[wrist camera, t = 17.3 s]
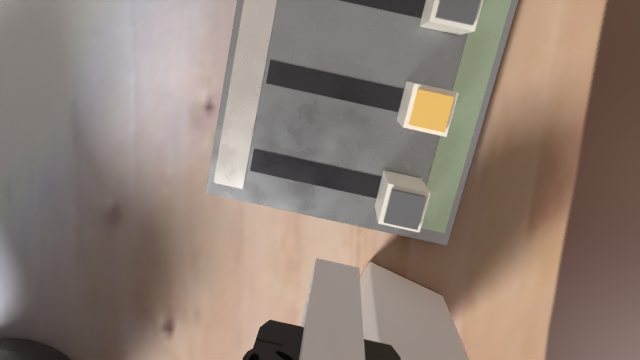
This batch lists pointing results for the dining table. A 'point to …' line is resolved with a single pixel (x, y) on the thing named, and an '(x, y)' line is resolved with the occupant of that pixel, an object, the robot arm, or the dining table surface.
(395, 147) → the panel
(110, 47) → the dining table surface
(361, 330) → the robot arm
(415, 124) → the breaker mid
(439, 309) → the milk carton
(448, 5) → the block
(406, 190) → the block
